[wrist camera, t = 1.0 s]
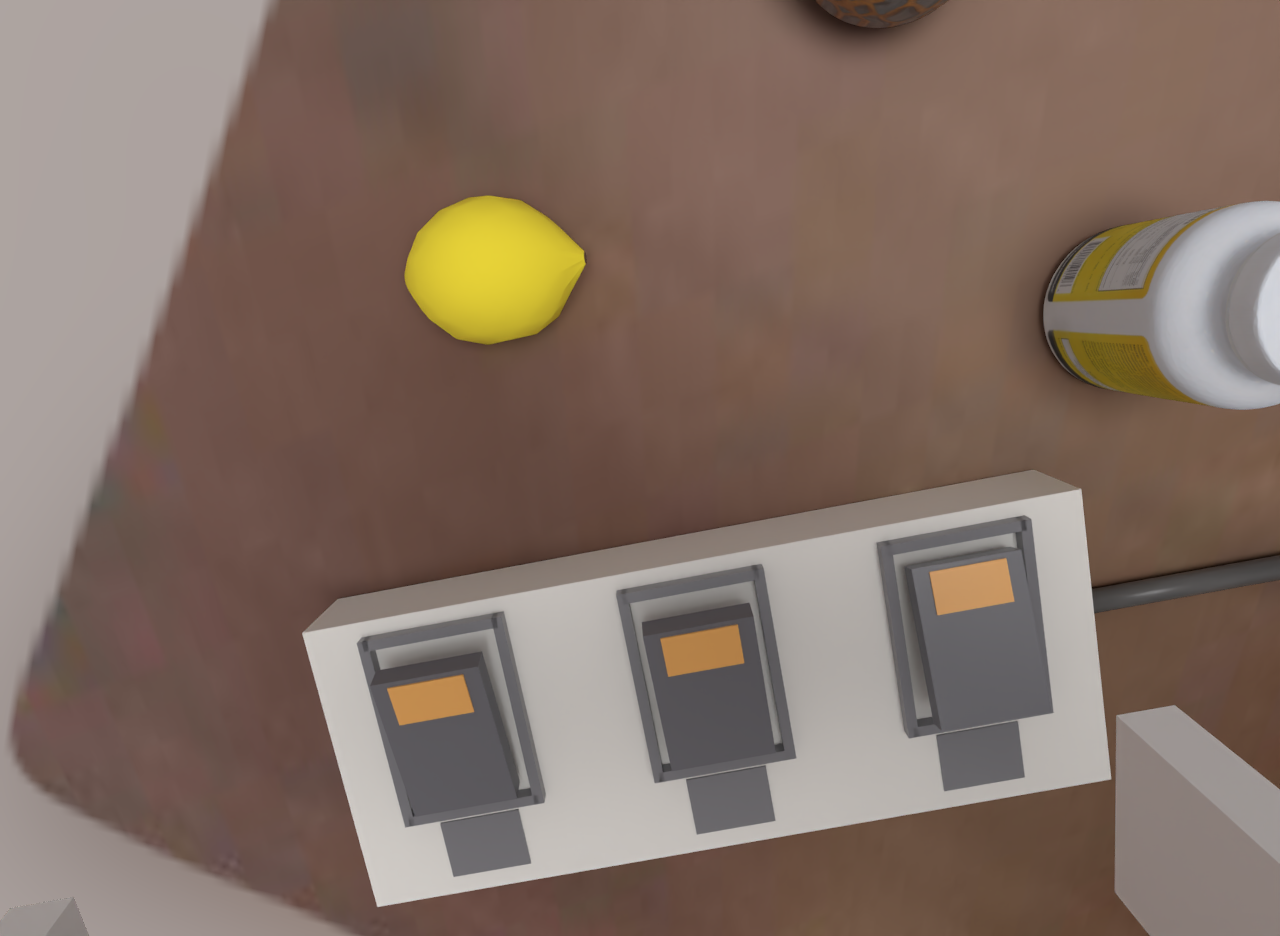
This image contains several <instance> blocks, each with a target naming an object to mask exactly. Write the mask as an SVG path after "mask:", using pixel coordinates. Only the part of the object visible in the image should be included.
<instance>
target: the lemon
mask: <svg viewBox="0 0 1280 936" xmlns="http://www.w3.org/2000/svg"><path fill="white" fill-rule="evenodd" d="M586 261H587V259H586V253H585V251H584V250H583V249H581V248H580V247H579V246H578V245H577V244H576V243H575V242H574V241H573V240H572V239H571V238H570V237H569V236H568V235H567V234H566V233H565V232H564V231H563V230H562V229H561V228H560V227H559V226H557V225H556V224H555V223H554V222H553V221H552V220H551V219H549V218H548V217H547V216H545V215H544V214H542V213H541V212H539V211H537V210H536V209H534V208H532V207H531V206H529V205H528V204H526V203H524V202H523V201H521V200H517V199H509V198H502V197H495V196H479V197H470V198H467V199H465V200H462V201H460V202H458V203H456V204H453V205H451V206H449V207H446V208H444V209H442V210H440V211H438V212H437V213H436V214H435V215H434V217H433V218H432V219H431V220H430V221H429V222H428V223H427V224H426V225H425V226H424V227H423V228H422V229H421V230H420V231H419V232H418V233H417V235H416V238H415V241H414V243H413V246H412V248H411V251H410V254H409V256H408V259H407V264H406V269H405V283H406V285H407V288H408V290H409V292H410V293H411V295H412V297H413V298H414V299H415V301H416V302H417V304H418V305H419V307H420V309H421V310H422V311H423V312H424V313H425V315H426V316H427V317H428V318H429V319H430V320H431V321H433V322H434V323H435V324H437V325H438V326H439V327H441V328H442V329H444V330H445V331H446V332H448V333H449V334H450V335H452V336H453V337H455V338H456V339H459V340H464V341H470V342H475V343H481V344H487V345H489V344H494V343H498V342H503V341H507V340H512V339H517V338H521V337H526V336H530V335H535V334H537V333H538V332H540V331H541V330H542V329H543V328H545V327H546V326H547V325H549V324H550V323H551V322H552V321H554V320H555V319H556V318H557V317H559V315H560V313H561V311H562V309H563V307H564V305H565V303H566V301H567V299H568V297H569V295H570V293H571V291H572V289H573V287H574V285H575V283H576V281H577V280H578V278H579V276H580V274H581V272H582V270H583V268H584V266H585V265H586Z"/></svg>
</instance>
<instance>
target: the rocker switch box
mask: <svg viewBox="0 0 1280 936" xmlns="http://www.w3.org/2000/svg"><path fill="white" fill-rule="evenodd" d="M1006 547H1014V548H1018V549H1021V551H1022V557H1023V562H1024V567H1025V573H1026V578H1027V583H1028V589H1029V594H1030V599H1031V605H1032V610H1033V615H1034V621H1035V626H1036V631H1037V637H1038V642H1039V647H1040V653H1041V658H1042V663H1043V669H1044V674H1045V679H1046V685H1047V690H1048V695H1049V701H1050V706H1051V711H1052V712H1050V713H1044V714H1038V715H1033V716H1027V717H1021V718H1016V719H1010V720H1004V721H999V722H993V723H987V724H982V725H976V726H971V727H965V728H959V729H954V730H948V731H941V730H940V729H939V728H938V727H937V726H936V725H935V724H934V723H933V718H932V712H931V707H930V702H929V696H928V691H927V686H926V680H925V675H924V670H923V664H922V659H921V654H920V648H919V643H918V638H917V632H916V627H915V622H914V616H913V611H912V606H911V601H910V595H909V590H908V585H907V579H906V574H905V569H904V566H907V565H913V564H918V563H924V562H929V561H935V560H940V559H946V558H951V557H957V556H962V555H967V554H973V553H978V552H984V551H989V550H995V549H1000V548H1006ZM1276 580H1280V555H1277V556H1272V557H1266V558H1261V559H1255V560H1249V561H1244V562H1238V563H1233V564H1227V565H1222V566H1216V567H1211V568H1205V569H1200V570H1194V571H1189V572H1183V573H1178V574H1172V575H1167V576H1161V577H1156V578H1150V579H1145V580H1139V581H1134V582H1128V583H1122V584H1117V585H1111V586H1106V587H1100V588H1095V589H1092V588H1091V578H1090V569H1089V559H1088V549H1087V539H1086V530H1085V520H1084V510H1083V501H1082V491H1081V489H1080V488H1078V487H1075V486H1073V485H1070V484H1068V483H1065V482H1063V481H1061V480H1058V479H1056V478H1053V477H1051V476H1048V475H1046V474H1043V473H1041V472H1039V471H1036V470H1029V471H1023V472H1018V473H1012V474H1007V475H1002V476H996V477H991V478H986V479H980V480H975V481H969V482H964V483H959V484H953V485H948V486H943V487H937V488H932V489H926V490H921V491H916V492H910V493H905V494H900V495H894V496H889V497H883V498H878V499H873V500H867V501H862V502H857V503H851V504H846V505H840V506H835V507H830V508H824V509H819V510H814V511H808V512H803V513H797V514H792V515H787V516H781V517H776V518H771V519H765V520H760V521H754V522H749V523H744V524H738V525H733V526H728V527H722V528H717V529H711V530H706V531H701V532H695V533H690V534H685V535H679V536H674V537H668V538H663V539H658V540H652V541H647V542H642V543H636V544H631V545H625V546H620V547H615V548H609V549H604V550H599V551H593V552H588V553H582V554H577V555H572V556H566V557H561V558H556V559H550V560H545V561H539V562H534V563H529V564H523V565H518V566H513V567H507V568H502V569H496V570H491V571H486V572H480V573H475V574H469V575H464V576H459V577H453V578H448V579H443V580H437V581H432V582H426V583H421V584H416V585H410V586H405V587H400V588H394V589H389V590H383V591H378V592H373V593H367V594H362V595H357V596H351V597H346V598H340V599H337V600H336V601H335V602H334V603H333V604H332V605H331V606H330V607H329V608H328V609H327V610H326V611H325V612H323V613H322V614H321V615H320V616H319V617H318V618H317V619H316V620H315V621H314V622H313V623H312V624H311V625H310V626H309V627H308V628H307V629H306V630H305V631H304V632H303V633H302V634H303V638H304V642H305V645H306V649H307V653H308V656H309V660H310V664H311V667H312V671H313V674H314V678H315V682H316V685H317V689H318V693H319V696H320V700H321V704H322V707H323V711H324V714H325V718H326V722H327V725H328V729H329V733H330V736H331V740H332V744H333V747H334V751H335V754H336V758H337V762H338V765H339V769H340V773H341V776H342V780H343V783H344V787H345V791H346V794H347V798H348V802H349V805H350V809H351V813H352V816H353V820H354V823H355V827H356V831H357V834H358V838H359V842H360V845H361V849H362V853H363V856H364V860H365V863H366V867H367V871H368V874H369V878H370V882H371V885H372V889H373V893H374V896H375V900H376V903H377V907H380V906H386V905H391V904H397V903H403V902H409V901H414V900H420V899H426V898H432V897H437V896H443V895H449V894H455V893H461V892H466V891H472V890H478V889H484V888H489V887H495V886H501V885H507V884H512V883H518V882H524V881H530V880H535V879H541V878H547V877H553V876H558V875H564V874H570V873H576V872H581V871H587V870H593V869H599V868H604V867H610V866H616V865H622V864H627V863H633V862H639V861H645V860H650V859H656V858H662V857H668V856H673V855H679V854H685V853H691V852H696V851H702V850H708V849H714V848H719V847H725V846H731V845H737V844H742V843H748V842H754V841H760V840H765V839H771V838H777V837H783V836H788V835H794V834H800V833H806V832H811V831H817V830H823V829H829V828H834V827H840V826H846V825H852V824H857V823H863V822H869V821H875V820H880V819H886V818H892V817H898V816H903V815H909V814H915V813H921V812H926V811H932V810H938V809H944V808H949V807H955V806H961V805H967V804H972V803H978V802H984V801H990V800H995V799H1001V798H1007V797H1013V796H1018V795H1024V794H1030V793H1036V792H1041V791H1047V790H1053V789H1059V788H1064V787H1070V786H1076V785H1082V784H1087V783H1093V782H1099V781H1105V780H1110V779H1111V772H1110V762H1109V753H1108V743H1107V733H1106V724H1105V714H1104V704H1103V695H1102V685H1101V675H1100V666H1099V656H1098V646H1097V636H1096V627H1095V617H1094V613H1098V612H1104V611H1110V610H1115V609H1121V608H1126V607H1132V606H1137V605H1143V604H1148V603H1154V602H1160V601H1165V600H1171V599H1176V598H1182V597H1187V596H1193V595H1198V594H1204V593H1209V592H1215V591H1221V590H1226V589H1232V588H1237V587H1243V586H1248V585H1254V584H1259V583H1265V582H1270V581H1276ZM744 603H750V606H751V610H752V613H753V616H754V622H755V628H756V634H757V640H758V647H759V653H760V659H761V665H762V671H763V677H764V683H765V690H766V696H767V702H768V708H769V714H770V720H771V726H772V732H773V739H774V745H775V751H776V753H773V754H767V755H762V756H756V757H750V758H745V759H739V760H734V761H728V762H722V763H717V764H711V765H705V766H700V767H694V768H688V769H683V770H677V771H672V770H671V765H670V761H669V756H668V751H667V747H666V742H665V737H664V733H663V728H662V724H661V719H660V714H659V710H658V705H657V700H656V696H655V691H654V686H653V682H652V677H651V673H650V668H649V663H648V659H647V654H646V649H645V645H644V640H643V633H642V622H645V621H651V620H656V619H662V618H667V617H673V616H678V615H684V614H689V613H695V612H700V611H705V610H711V609H716V608H722V607H727V606H733V605H738V604H744ZM481 651H482V653H483V657H484V660H485V663H486V667H487V670H488V674H489V677H490V681H491V684H492V687H493V691H494V694H495V698H496V701H497V705H498V708H499V711H500V715H501V718H502V722H503V725H504V729H505V732H506V735H507V739H508V742H509V746H510V749H511V753H512V756H513V759H514V763H515V766H516V770H517V773H518V776H519V780H520V783H519V790H518V798H517V799H513V800H508V801H502V802H496V803H491V804H485V805H479V806H474V807H468V808H462V809H457V810H451V811H446V812H440V813H434V814H429V815H423V816H417V817H415V814H414V812H413V809H412V806H411V803H410V800H409V797H408V794H407V792H406V789H405V786H404V783H403V780H402V777H401V774H400V772H399V769H398V766H397V763H396V760H395V757H394V754H393V752H392V749H391V746H390V743H389V740H388V737H387V734H386V732H385V729H384V726H383V723H382V720H381V717H380V714H379V712H378V709H377V706H376V703H375V700H374V697H373V694H372V692H371V689H370V684H371V682H372V680H373V678H374V675H375V673H376V671H378V670H383V669H388V668H394V667H399V666H405V665H410V664H416V663H421V662H427V661H432V660H438V659H443V658H449V657H454V656H459V655H465V654H470V653H476V652H481Z"/></svg>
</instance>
